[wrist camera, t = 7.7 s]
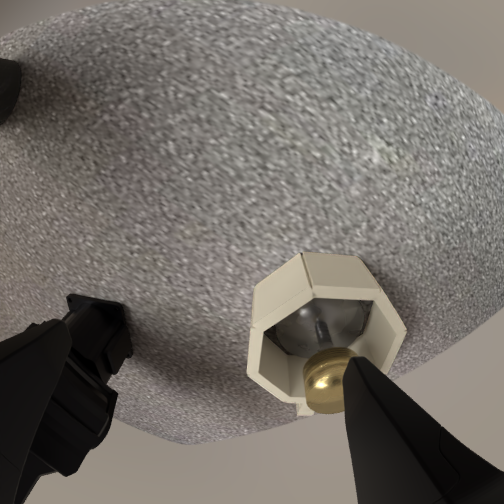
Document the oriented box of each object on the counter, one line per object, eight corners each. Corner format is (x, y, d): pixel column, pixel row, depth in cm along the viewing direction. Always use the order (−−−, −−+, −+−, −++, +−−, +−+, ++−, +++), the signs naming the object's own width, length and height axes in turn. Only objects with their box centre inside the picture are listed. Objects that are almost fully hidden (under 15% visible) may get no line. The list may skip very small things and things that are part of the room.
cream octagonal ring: (245, 377, 25) (242, 417, 20) (257, 247, 20) (254, 280, 15) (352, 379, 25) (362, 416, 20) (394, 259, 20) (422, 290, 15)
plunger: (270, 350, 23) (271, 426, 15) (281, 278, 20) (288, 352, 13) (348, 352, 23) (370, 422, 15) (370, 284, 20) (411, 351, 13)
